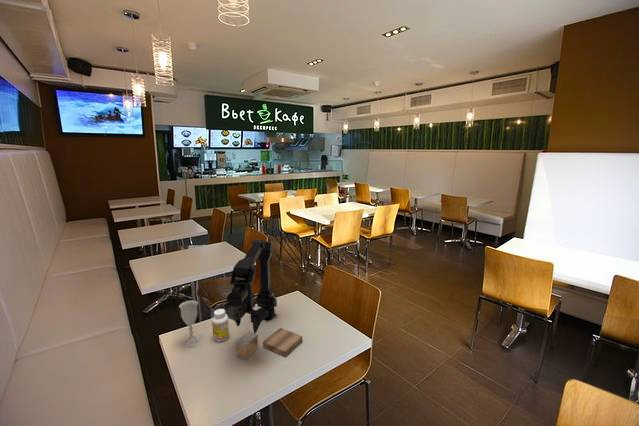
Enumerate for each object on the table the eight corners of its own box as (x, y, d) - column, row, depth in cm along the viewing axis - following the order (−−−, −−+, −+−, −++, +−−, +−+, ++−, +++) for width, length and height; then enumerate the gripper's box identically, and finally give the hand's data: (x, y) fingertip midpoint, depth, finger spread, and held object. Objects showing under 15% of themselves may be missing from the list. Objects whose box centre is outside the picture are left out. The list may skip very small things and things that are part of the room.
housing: (235, 356, 119) (235, 340, 118) (250, 345, 126) (249, 330, 125) (244, 360, 117) (244, 345, 116) (258, 349, 124) (258, 334, 122)
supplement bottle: (210, 337, 131) (208, 311, 128) (224, 331, 136) (222, 305, 133) (218, 344, 126) (216, 317, 124) (231, 337, 131) (230, 311, 128)
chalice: (183, 349, 123) (179, 310, 119) (182, 340, 129) (178, 302, 125) (201, 344, 126) (198, 306, 122) (200, 335, 132) (197, 299, 128)
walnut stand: (263, 347, 125) (262, 341, 125) (280, 332, 135) (280, 327, 135) (285, 357, 119) (285, 351, 119) (302, 341, 129) (302, 336, 129)
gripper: (212, 296, 114) (214, 332, 117) (247, 309, 105) (249, 348, 108) (234, 285, 123) (236, 318, 127) (268, 296, 114) (269, 332, 117)
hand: (246, 329), depth 119 cm, fingers open, 9 cm apart
